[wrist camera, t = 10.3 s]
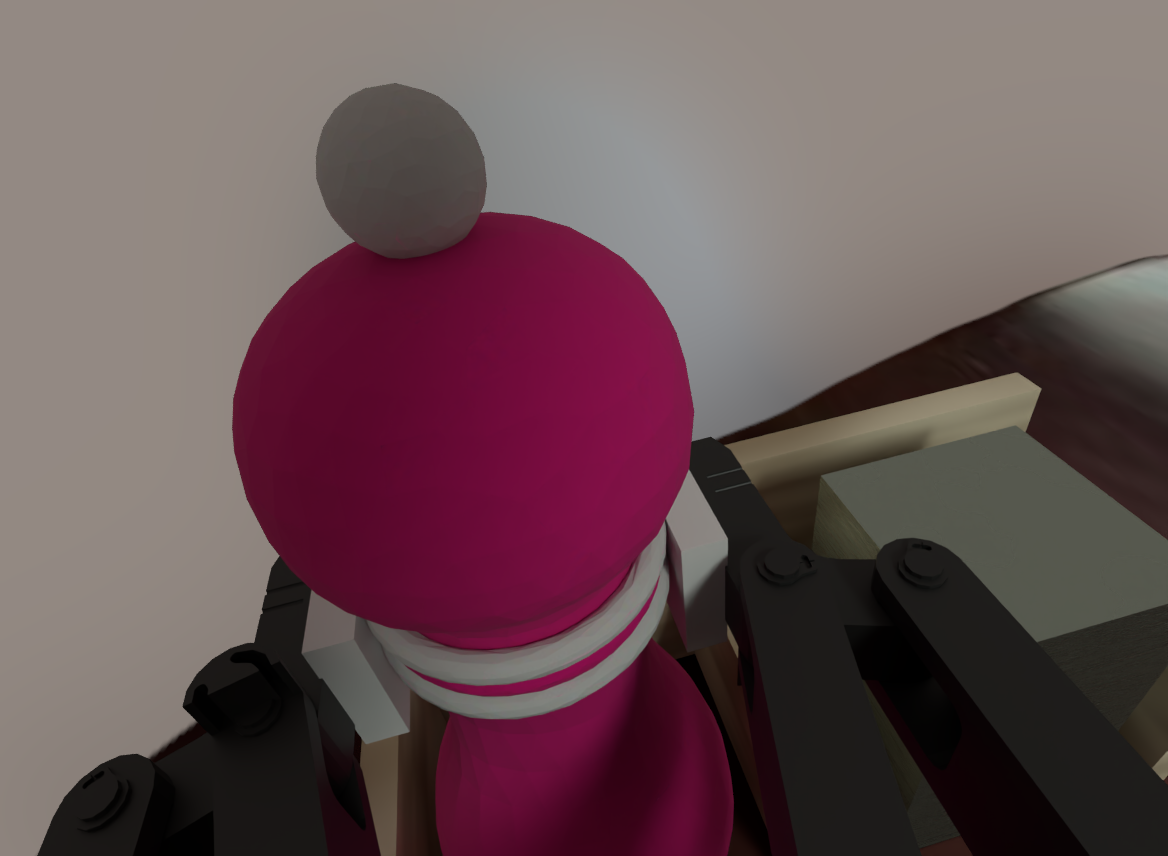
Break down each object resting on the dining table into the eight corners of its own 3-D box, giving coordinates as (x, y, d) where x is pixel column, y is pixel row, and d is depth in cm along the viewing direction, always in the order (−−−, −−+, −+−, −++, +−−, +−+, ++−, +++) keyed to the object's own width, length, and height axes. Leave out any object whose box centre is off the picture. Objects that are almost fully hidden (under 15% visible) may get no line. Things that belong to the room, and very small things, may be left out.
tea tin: (1064, 802, 19) (1228, 586, 13) (887, 858, 18) (970, 661, 12) (939, 642, 23) (1015, 425, 17) (794, 683, 23) (821, 475, 16)
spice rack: (1161, 781, 19) (1341, 589, 13) (422, 1019, 17) (276, 907, 11) (955, 557, 26) (1017, 372, 20) (419, 705, 24) (329, 543, 18)
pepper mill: (753, 1019, 15) (867, 118, 3) (460, 1015, 16) (-359, 282, 4) (714, 724, 21) (701, 0, 9) (500, 731, 22) (218, 75, 10)
